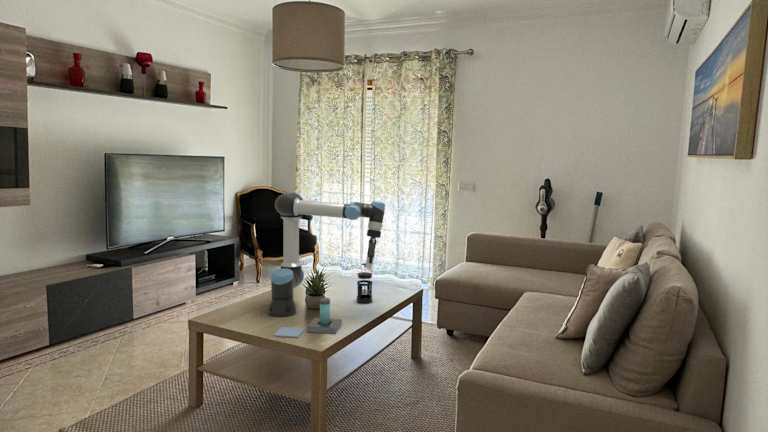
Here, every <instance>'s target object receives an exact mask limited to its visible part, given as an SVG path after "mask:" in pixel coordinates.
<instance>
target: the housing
mask: <svg viewBox="0 0 768 432" xmlns="http://www.w3.org/2000/svg"><path fill="white" fill-rule="evenodd" d="M342 324H343V322H342V318H330V325H322V324H320V317H314V318H313V320H311V322H309V324H308V325H307V328H306V329H307V330H306V331H307V333H313V332H314V333H317V334H329V333H330V334H331V335H336V334H337V332H338V331H339V329H340V328H341V326H342Z"/></svg>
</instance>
